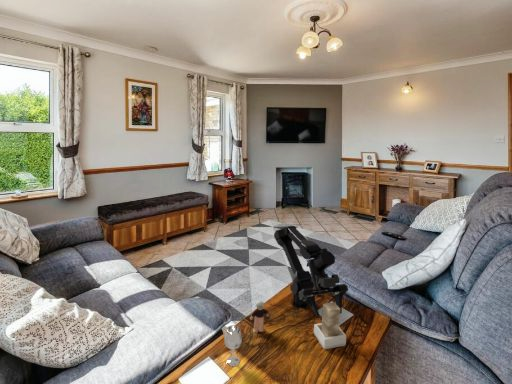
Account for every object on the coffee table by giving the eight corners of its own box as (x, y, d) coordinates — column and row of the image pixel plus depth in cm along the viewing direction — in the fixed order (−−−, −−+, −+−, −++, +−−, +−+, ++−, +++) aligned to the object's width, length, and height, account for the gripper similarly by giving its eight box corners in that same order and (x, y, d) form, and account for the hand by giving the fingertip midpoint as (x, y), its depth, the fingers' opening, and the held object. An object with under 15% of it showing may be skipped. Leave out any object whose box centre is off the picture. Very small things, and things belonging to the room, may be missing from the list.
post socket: (324, 349, 103) (324, 339, 102) (313, 333, 111) (314, 324, 110) (345, 345, 105) (346, 335, 104) (333, 330, 113) (334, 321, 112)
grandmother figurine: (253, 336, 109) (253, 306, 106) (248, 330, 112) (249, 301, 109) (270, 330, 112) (271, 301, 110) (265, 324, 115) (266, 296, 113)
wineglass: (224, 355, 99) (224, 324, 97) (241, 354, 100) (241, 323, 97) (224, 368, 94) (224, 336, 91) (242, 367, 94) (242, 335, 92)
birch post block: (326, 342, 105) (329, 310, 102) (321, 334, 109) (323, 303, 106) (337, 340, 106) (340, 309, 103) (331, 332, 110) (334, 302, 108)
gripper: (303, 269, 106) (314, 314, 98) (348, 264, 110) (362, 307, 102) (294, 278, 115) (303, 320, 107) (336, 273, 119) (348, 313, 111)
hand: (329, 315), depth 106 cm, fingers open, 9 cm apart
